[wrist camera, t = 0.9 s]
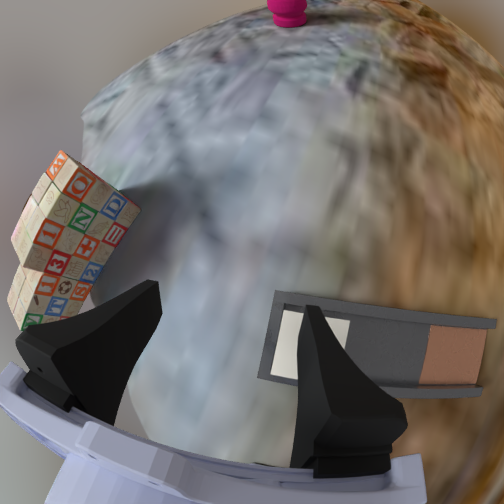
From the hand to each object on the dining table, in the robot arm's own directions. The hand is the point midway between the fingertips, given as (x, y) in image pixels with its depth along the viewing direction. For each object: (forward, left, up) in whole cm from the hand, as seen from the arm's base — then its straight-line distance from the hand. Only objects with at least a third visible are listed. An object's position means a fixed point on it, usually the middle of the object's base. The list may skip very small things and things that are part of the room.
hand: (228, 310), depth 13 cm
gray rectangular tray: (-2, -12, -14) cm, 19 cm away
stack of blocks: (+1, +26, -14) cm, 30 cm away
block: (-2, -4, -14) cm, 15 cm away
